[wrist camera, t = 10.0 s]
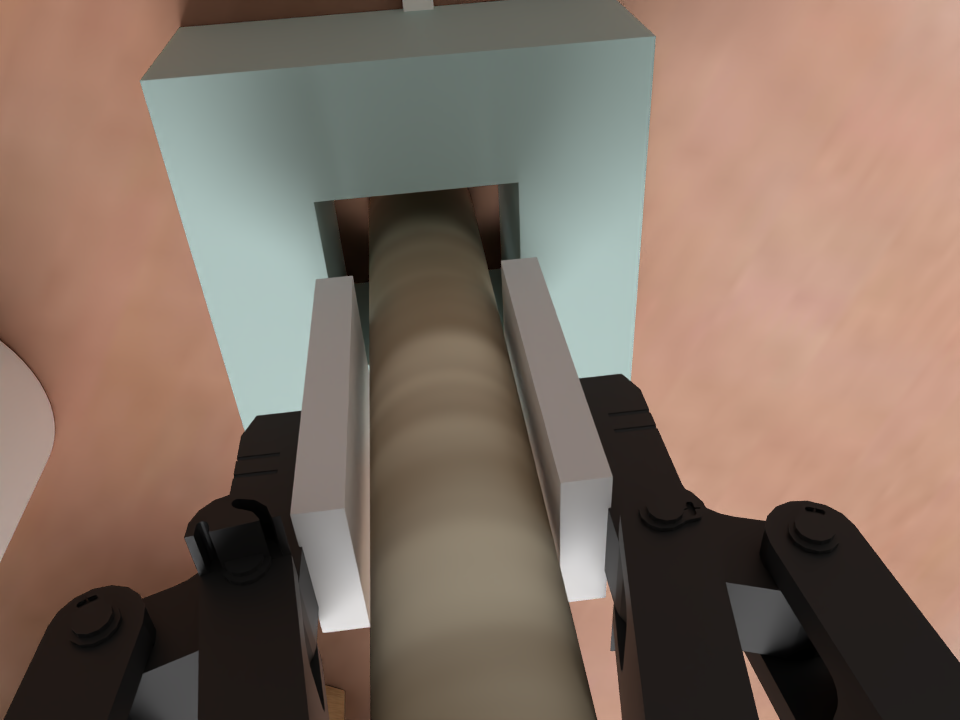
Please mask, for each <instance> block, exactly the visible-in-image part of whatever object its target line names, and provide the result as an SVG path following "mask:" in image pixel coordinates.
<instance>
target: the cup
mask: <svg viewBox="0 0 960 720" xmlns="http://www.w3.org/2000/svg"><path fill="white" fill-rule="evenodd" d="M54 437H55V423H54V416H53V412H52V408H51V405H50V402H49V400H48V397H47V395H46V393H45V391H44V389H43V387H42V386H41V384H40V382H39V381H38V379H37V378H36V376H35V375H34V374H33V372H32V371H31V370H30V369H29V367H28V366H27V365H26V364H25V363H24V362H23V361H22V360H21V359H20V358H19V357H18V356H17V355H16V354H15V353H14V352H13V351H12V350H11V349H10V348H9V347H7V346H6V345H5V344H4V343H3V342H2V341H0V562H1V559H2V557H3V555H4V553H5V551H6V549H7V547H8V544H9V542H10V540H11V538H12V536H13V534H14V532H15V529H16V527H17V525H18V523H19V521H20V519H21V517H22V514H23V512H24V510H25V508H26V506H27V504H28V502H29V499H30V497H31V495H32V493H33V491H34V489H35V487H36V484H37V482H38V480H39V478H40V476H41V474H42V472H43V469H44V467H45V465H46V463H47V461H48V459H49V456H50V454H51V451H52V447H53V444H54Z"/></svg>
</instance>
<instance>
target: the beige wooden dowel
mask: <svg viewBox="0 0 960 720" xmlns="http://www.w3.org/2000/svg"><path fill="white" fill-rule="evenodd" d="M369 404H370V709H371V720H597V717H596V713H595V709H594V705H593V701H592V696H591V692H590V688H589V684H588V680H587V676H586V672H585V667H584V663H583V659H582V655H581V651H580V647H579V643H578V639H577V634H576V630H575V626H574V622H573V618H572V614H571V610H570V605H569V601H568V597H567V593H566V589H565V585H564V581H563V577H562V572H561V568H560V564H559V560H558V556H557V552H556V548H555V543H554V539H553V535H552V531H551V527H550V523H549V519H548V515H547V510H546V506H545V502H544V498H543V494H542V490H541V486H540V481H539V477H538V473H537V469H536V465H535V461H534V457H533V453H532V448H531V444H530V440H529V436H528V432H527V428H526V424H525V419H524V415H523V411H522V407H521V403H520V399H519V395H518V390H517V386H516V382H515V378H514V374H513V370H512V366H511V362H510V357H509V353H508V349H507V345H506V341H505V337H504V333H503V328H502V324H501V320H500V316H499V312H498V308H497V304H496V300H495V295H494V291H493V287H492V283H491V279H490V275H489V271H488V266H487V262H486V258H485V254H484V250H483V246H482V242H481V238H480V233H479V229H478V225H477V221H476V217H475V213H474V209H473V204H472V200H471V197H470V193H469V191H468V189H467V187H466V188H456V189H445V190H435V191H424V192H414V193H404V194H393V195H383V196H372V197H371V198H370V203H369Z"/></svg>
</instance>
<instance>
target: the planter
mask: <svg viewBox="0 0 960 720" xmlns="http://www.w3.org/2000/svg"><path fill="white" fill-rule="evenodd" d="M325 688H326V696H327V704H328V712H329V720H344V709H345V691H344V690H341V689H337V688H334V687H331V686H327V685H325Z"/></svg>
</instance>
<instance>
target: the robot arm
mask: <svg viewBox="0 0 960 720" xmlns="http://www.w3.org/2000/svg"><path fill="white" fill-rule="evenodd" d="M501 275H502V298H503V321H504V337H505V341H506V345H507V349H508V353H509V357H510V362H511V366H512V370H513V374H514V378H515V382H516V386H517V390H518V395H519V399H520V403H521V407H522V411H523V415H524V419H525V424H526V428H527V432H528V436H529V440H530V444H531V448H532V453H533V457H534V461H535V465H536V469H537V473H538V477H539V481H540V486H541V490H542V494H543V498H544V502H545V506H546V510H547V515H548V519H549V523H550V527H551V531H552V535H553V539H554V543H555V548H556V552H557V556H558V560H559V564H560V568H561V572H562V577H563V581H564V585H565V589H566V593H567V597H568V601H569V602H573V601H581V600H589V599H597V598H605V597H606V582H607V581H608V584H609V588H610V591H611V594H612V598H613V601H614V608H613V622H612V636H611V650H610V651H615V653H616V663H617V673H618V683H619V693H620V703H621V713H622V720H759V717H758V713H757V709H756V705H755V701H754V697H753V693H752V689H751V684H750V680H749V676H748V672H747V668H746V664H745V660H744V656H743V652H742V651H744V652H745V654H746V656H747V658H748V660H749V662H750V663H751V665H752V667H753V669H754V671H755V673H756V675H757V677H758V679H759V681H760V682H761V684H762V686H763V688H764V690H765V692H766V694H767V696H768V698H769V700H770V701H771V703H772V705H773V707H774V709H775V711H776V713H777V715H778V717H779V719H780V720H960V662H959V661H958V660H957V658H956V657H955V656H954V655H953V653H952V652H951V651H950V649H949V648H948V647H947V645H946V644H945V643H944V641H943V640H942V639H941V638H940V636H939V635H938V634H937V632H936V631H935V630H934V628H933V627H932V626H931V624H930V623H929V622H928V621H927V619H926V618H925V617H924V615H923V614H922V613H921V611H920V610H919V609H918V607H917V606H916V605H915V603H914V602H913V601H912V600H911V598H910V597H909V596H908V594H907V593H906V592H905V590H904V589H903V588H902V586H901V585H900V584H899V583H898V581H897V580H896V579H895V577H894V576H893V575H892V573H891V572H890V571H889V569H888V568H887V567H886V566H885V564H884V563H883V562H882V560H881V559H880V558H879V556H878V555H877V554H876V552H875V551H874V550H873V549H872V547H871V546H870V545H869V543H868V542H867V541H866V539H865V538H864V537H863V535H862V534H861V533H860V532H859V530H858V529H857V528H856V526H855V525H854V524H853V523H852V522H851V521H850V520H848V519H847V518H846V517H845V516H844V515H843V514H842V513H840V512H838V511H836V510H834V509H832V508H830V507H828V506H826V505H823V504H819V503H814V502H810V501H790V502H787V503H785V504H782V505H779V506H777V507H775V508H774V510H773V511H772V512H771V513H770V514H769V515H768V516H767V519H766V521H762V520H754V519H747V518H740V517H733V516H728V515H724V514H720V513H717V512H715V511H712V510H710V509H708V508H706V507H705V505H704V503H703V502H702V501H701V500H700V499H699V498H698V497H697V496H695V495H694V494H693V493H692V492H690V491H688V490H686V489H685V488H684V487H683V485H682V483H681V481H680V479H679V476H678V474H677V472H676V470H675V467H674V465H673V463H672V460H671V458H670V456H669V454H668V451H667V449H666V447H665V444H664V442H663V440H662V438H661V435H660V433H659V431H658V429H656V424H655V422H654V419H653V417H652V415H651V413H649V408H648V406H647V404H646V401H645V399H644V397H643V394H642V392H641V390H640V389H639V388H638V387H637V386H636V385H635V384H633V383H632V382H631V381H630V380H629V379H628V378H626V377H625V376H624V375H623V374H613V375H604V376H595V377H586V378H579V377H578V375H577V372H576V369H575V366H574V363H573V360H572V357H571V354H570V351H569V348H568V346H567V343H566V340H565V337H564V334H563V331H562V328H561V325H560V322H559V320H558V317H557V314H556V311H555V308H554V305H553V302H552V299H551V296H550V294H549V291H548V288H547V285H546V282H545V279H544V276H543V273H542V270H541V267H540V265H539V262H538V259H537V257H532V258H522V259H512V260H502V261H501ZM184 538H185V541H186V543H187V546H188V548H189V551H190V553H191V556H192V558H193V561H194V563H195V566H196V568H197V571H198V573H197V574H196V575H194V576H193V577H191V578H190V579H189V580H187V581H185V582H183V583H181V584H178V585H176V586H174V587H172V588H169V589H167V590H164V591H161V592H159V593H156V594H154V595H151V596H148V597H146V598H143V599H142V598H141V596H140V594H138V593H136V592H135V591H133V590H132V589H130V588H128V587H122V586H113V585H111V586H106V587H101V588H96V589H92V590H90V591H88V592H86V593H84V594H82V595H80V596H78V597H76V598H74V599H73V600H72V601H70V602H69V603H68V604H67V605H66V606H64V607H63V608H62V609H61V610H60V611H58V613H57V614H56V616H55V617H54V619H53V620H52V621H51V623H50V624H49V626H48V627H47V629H46V631H45V634H44V636H43V638H42V640H41V642H40V644H39V646H38V648H37V650H36V653H35V655H34V657H33V659H32V661H31V663H30V665H29V667H28V669H27V672H26V674H25V676H24V678H23V680H22V682H21V684H20V686H19V688H18V691H17V693H16V695H15V697H14V699H13V701H12V703H11V705H10V707H9V709H8V712H7V714H6V716H5V718H4V720H329V712H328V704H327V696H326V688H325V681H324V673H323V665H322V658H321V655H320V651H319V648H318V645H317V629H318V617H319V621H320V624H321V628H322V632H323V633H327V632H335V631H343V630H351V629H359V628H367V627H370V404H369V369H368V363H367V357H366V351H365V345H364V339H363V334H362V328H361V322H360V316H359V310H358V304H357V298H356V292H355V286H354V280H353V276H344V277H334V278H324V279H316V282H315V291H314V300H313V310H312V319H311V328H310V337H309V346H308V356H307V365H306V374H305V383H304V392H303V401H302V411H294V412H284V413H275V414H266V415H257V416H256V417H255V418H254V420H253V421H252V422H251V424H250V425H249V426H248V428H247V429H246V430H245V432H244V433H243V434H242V436H241V440H240V445H239V450H238V455H237V461H236V465H235V470H234V479H233V481H232V486H231V491H230V495H228V496H225V497H222V498H219V499H216V500H214V501H212V502H211V503H210V504H208V505H207V506H205V507H204V508H202V509H201V510H199V511H198V512H197V514H196V515H195V516H194V517H193V519H192V520H191V521H190V522H189V524H188V527H187V530H186V533H185V537H184Z"/></svg>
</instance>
